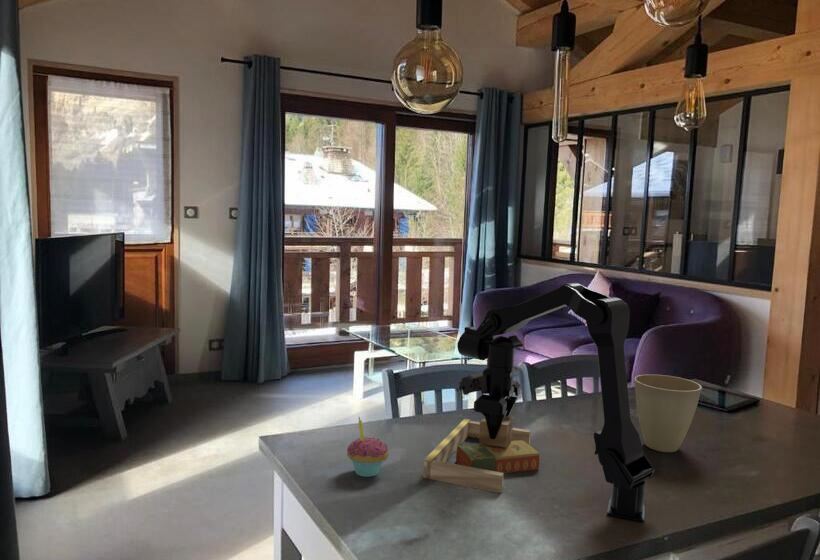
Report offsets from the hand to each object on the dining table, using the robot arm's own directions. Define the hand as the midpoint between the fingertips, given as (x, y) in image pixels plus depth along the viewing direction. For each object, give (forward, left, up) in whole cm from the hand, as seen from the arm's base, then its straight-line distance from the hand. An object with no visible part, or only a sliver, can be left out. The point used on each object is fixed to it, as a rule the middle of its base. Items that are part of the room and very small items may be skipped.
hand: (496, 433), depth 145 cm
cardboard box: (0, 0, -2) cm, 2 cm away
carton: (-3, -1, -7) cm, 7 cm away
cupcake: (-18, +23, -6) cm, 30 cm away
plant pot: (+27, -34, -6) cm, 44 cm away
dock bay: (-1, +3, -6) cm, 7 cm away
